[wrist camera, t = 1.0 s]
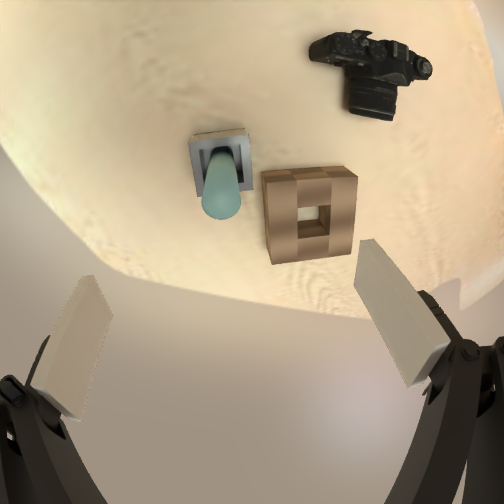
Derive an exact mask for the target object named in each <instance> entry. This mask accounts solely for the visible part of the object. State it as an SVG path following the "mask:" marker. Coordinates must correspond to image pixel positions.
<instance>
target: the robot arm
mask: <svg viewBox="0 0 504 504" xmlns="http://www.w3.org/2000/svg"><path fill="white" fill-rule="evenodd" d="M354 287H355V289H356V290H357V292H358V294H359V296H360V297H361V299H362V301H363V303H364V304H365V306H366V308H367V310H368V312H369V313H370V315H371V317H372V319H373V321H374V322H375V325H376V326H377V328H378V330H379V332H380V334H381V335H382V338H383V340H384V342H385V343H386V346H387V347H388V349H389V351H390V353H391V355H392V357H393V359H394V361H395V363H396V365H397V367H398V370H399V372H400V374H401V376H402V378H403V380H404V382H405V384H406V386H407V388H408V389H410V388H412V387H415V386H417V385H420V384H422V383H423V382H424V381H425V380H426V378H427V376H428V375H429V377H430V378H431V382H430V384H429V385H428V386H427V388H426V389H425V390H424V392H423V394H422V395H425V394H426V393H427V396H426V400H425V403H424V407H423V410H422V413H421V417H420V420H419V423H418V426H417V429H416V432H415V435H414V438H413V441H412V443H411V446H410V449H409V451H408V454H407V456H406V458H405V461H404V463H403V466H402V468H401V470H400V472H399V475H398V477H397V479H396V481H395V483H394V485H393V487H392V490H391V491H390V494H389V496H388V497H387V499H386V501H385V503H384V504H452V502H453V500H454V497H455V495H456V491H457V489H458V486H459V483H460V480H461V477H462V474H463V471H464V468H465V464H466V461H467V469H466V479H465V487H464V493H463V499H462V504H504V336H503V337H499V338H498V339H497V340H496V342H495V343H494V344H493V345H492V346H481V347H479V346H478V344H476V343H475V342H474V341H472V340H469V339H463V338H462V337H461V335H460V334H459V332H458V331H457V330H456V328H455V327H454V325H453V324H452V322H451V321H450V320H449V318H448V317H447V315H446V314H444V311H443V310H442V309H441V307H439V305H438V303H437V302H436V301H435V299H434V298H433V297H432V296H431V295H429V294H428V293H427V292H425V291H424V290H421V291H418V292H417V291H416V290H415V289H414V287H413V286H412V285H411V284H410V282H409V281H408V280H407V278H406V277H405V276H404V275H403V273H402V272H401V271H400V270H399V268H398V267H397V266H396V265H395V263H394V262H393V261H392V260H391V258H390V257H389V256H388V255H387V254H386V252H385V251H384V250H383V249H382V248H381V246H380V245H379V244H378V243H377V242H376V241H375V239H368V240H360V246H359V253H358V260H357V267H356V273H355V279H354ZM112 317H113V313H112V311H111V309H110V307H109V306H108V304H107V302H106V300H105V298H104V296H103V294H102V292H101V290H100V288H99V286H98V284H97V282H96V279H95V277H94V275H89V276H82V277H81V279H80V280H79V282H78V284H77V286H76V287H75V289H74V291H73V293H72V295H71V296H70V298H69V300H68V302H67V304H66V306H65V308H64V310H63V311H62V313H61V316H60V317H59V319H58V321H57V324H56V325H55V328H54V329H53V332H52V334H51V335H49V336H48V337H47V338H46V339H45V341H44V342H43V343H42V345H41V347H40V349H39V352H38V354H37V356H36V359H35V361H34V363H33V365H32V368H31V370H30V373H29V375H28V379H27V381H26V383H25V386H23V385H22V384H21V383H20V382H19V381H18V380H17V379H16V378H15V377H14V376H13V375H7V376H5V377H3V379H1V381H0V397H1V398H0V504H107V502H106V500H105V499H104V497H103V496H102V494H101V493H100V491H99V490H98V488H97V486H96V485H95V483H94V482H93V480H92V478H91V477H90V475H89V473H88V471H87V469H86V468H85V466H84V464H83V462H82V460H81V458H80V456H79V454H78V452H77V450H76V448H75V446H74V444H73V442H72V440H71V438H70V436H69V434H68V431H67V429H66V426H65V424H64V422H63V421H62V420H61V419H60V416H61V413H62V414H63V415H64V416H65V417H67V418H68V419H69V420H74V421H79V422H82V420H83V415H84V411H85V407H86V402H87V399H88V395H89V391H90V387H91V383H92V379H93V376H94V372H95V369H96V366H97V362H98V358H99V355H100V352H101V349H102V346H103V343H104V340H105V337H106V334H107V331H108V328H109V325H110V322H111V320H112ZM494 384H495V390H494ZM7 432H8V433H9V434H11V435H12V437H13V439H12V440H10V439H9V438H7Z"/></svg>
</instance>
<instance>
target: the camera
mask: <svg viewBox="0 0 504 504" xmlns="http://www.w3.org/2000/svg"><path fill="white" fill-rule="evenodd" d="M370 34H372V32H370V31H363V30H354V31H352V33H346V32H335V33H333V34H331V35H328V36H326V37H324V38H322V39H320V40H317V41H315V42H313V43H312V44H311V46H310V49H309V58H310V60H311V61H316V62H322V63H329V64H334V66H341V67H342V66H344V67H345V68H346V69H347V72H346V77H347V78H350V83H349V88H350V89H349V94H350V96H349V112H350V113H352V114H356V115H360V116H365V117H370V118H375V119H380V120H385V121H393V116H394V115H395V110H396V105H395V103H396V100H397V86H409V85H410V83H411V81H412V82H413V81H414V80H428V78H429V77H430V76H431V75H432V65H431V63H430V62H429V61H428V60H427V59H426V58H425V57H421V56H419V55H417V54H416V53H415V52H413V51H411V50H409V48H408V46H407V45H405V44H402V43H399V42H397V41H394V40H391V41H389V40H380V41H376V40H373V39H369V38H367V37H366V36H367V35H370Z"/></svg>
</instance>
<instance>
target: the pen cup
mask: <svg viewBox="0 0 504 504" xmlns="http://www.w3.org/2000/svg"><path fill="white" fill-rule="evenodd" d="M188 143H189V149H190V156H191V162H192V168H193V174H194V180H195V186H196V191H197V197H201V196H202V195H203V190H204V185H205V180H206V175H207V170H208V165H209V160H210V156H211V152H212V150H213V149H214V148H215V147H220V146H228V147H229V148H231V150H232V151H233V154H234V160H235V167H236V173H237V179H238V185H239V191H247V190H254V188H253V177H252V166H251V155H250V145H249V134H248V133H247V131H246V130H245V128H242V129H233V130H225V131H217V132H210V133H203V134H196V135H194V136H193V137H192V138H191V140H190V141H189V142H188Z"/></svg>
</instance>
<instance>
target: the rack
mask: <svg viewBox="0 0 504 504" xmlns="http://www.w3.org/2000/svg"><path fill="white" fill-rule="evenodd" d="M261 173H262V186H263V199H264V213H265V227H266V241H267V249H268V252H269V256H270V260H271V264H272V265H274V264H282V263H290V262H297V261H305V260H312V259H319V258H327V257H334V256H341V255H348V254H351V249H352V241H353V232H354V222H355V211H356V199H357V185H358V176H356V175H355V174H354V173H352V172H351V171H349V170H348V169H347V168H345V167H344V166H335V167H316V168H300V169H287V170H275V171H265V172H261ZM311 206H319V219H317V220H308V221H299V222H297V208H301V207H311Z"/></svg>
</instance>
